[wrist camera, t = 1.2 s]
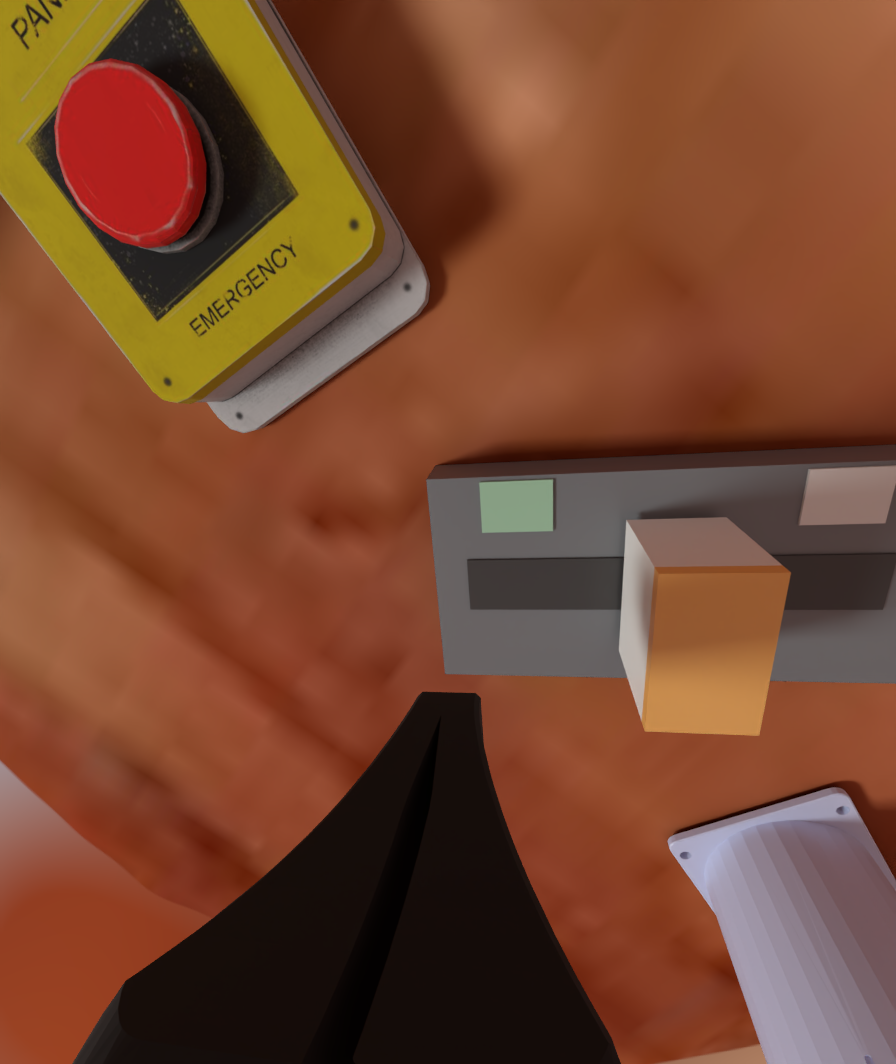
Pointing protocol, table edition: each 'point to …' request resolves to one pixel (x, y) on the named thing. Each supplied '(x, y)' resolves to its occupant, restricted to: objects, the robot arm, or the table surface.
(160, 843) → the table surface
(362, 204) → the emergency button
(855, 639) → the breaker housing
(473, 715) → the robot arm
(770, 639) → the knob
